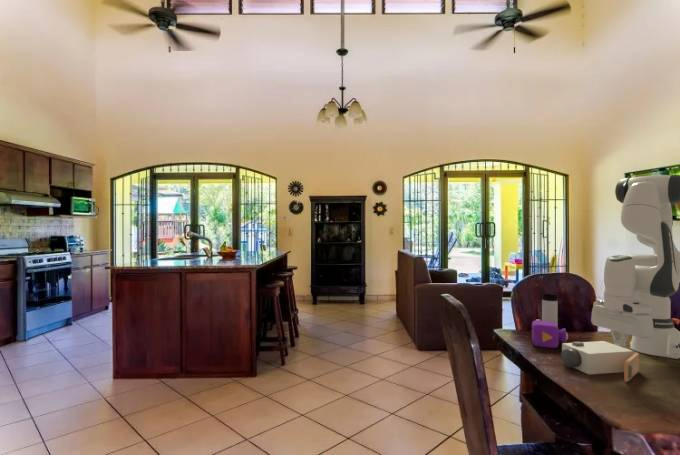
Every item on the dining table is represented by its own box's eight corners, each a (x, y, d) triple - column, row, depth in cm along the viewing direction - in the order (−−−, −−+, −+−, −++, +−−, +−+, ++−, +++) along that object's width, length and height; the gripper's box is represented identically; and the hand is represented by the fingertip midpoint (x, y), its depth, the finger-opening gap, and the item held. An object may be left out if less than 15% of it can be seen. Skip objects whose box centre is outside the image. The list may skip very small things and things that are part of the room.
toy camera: (571, 350, 156) (571, 326, 156) (535, 348, 158) (535, 324, 158) (562, 342, 166) (562, 319, 166) (528, 340, 169) (528, 318, 169)
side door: (634, 368, 134) (634, 351, 134) (643, 370, 132) (643, 353, 132) (621, 380, 124) (621, 361, 124) (631, 382, 122) (631, 363, 122)
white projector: (603, 359, 145) (603, 338, 145) (633, 371, 133) (633, 348, 133) (554, 362, 141) (555, 341, 141) (581, 375, 129) (581, 351, 129)
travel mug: (539, 336, 176) (539, 292, 176) (544, 333, 180) (544, 291, 180) (554, 339, 171) (554, 294, 171) (559, 336, 176) (559, 292, 176)
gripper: (586, 298, 139) (586, 337, 139) (640, 309, 119) (640, 354, 118) (601, 298, 140) (601, 336, 140) (657, 309, 120) (657, 353, 120)
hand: (619, 345), depth 129 cm, fingers closed
